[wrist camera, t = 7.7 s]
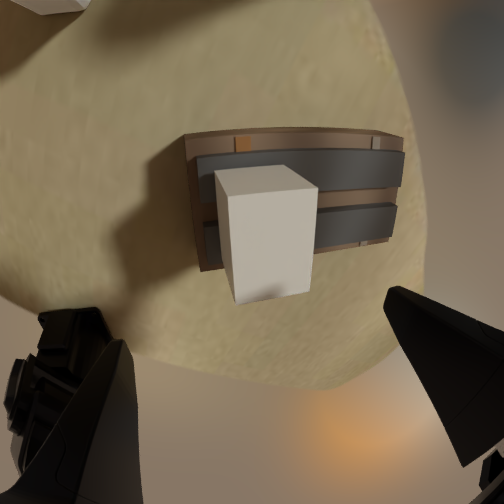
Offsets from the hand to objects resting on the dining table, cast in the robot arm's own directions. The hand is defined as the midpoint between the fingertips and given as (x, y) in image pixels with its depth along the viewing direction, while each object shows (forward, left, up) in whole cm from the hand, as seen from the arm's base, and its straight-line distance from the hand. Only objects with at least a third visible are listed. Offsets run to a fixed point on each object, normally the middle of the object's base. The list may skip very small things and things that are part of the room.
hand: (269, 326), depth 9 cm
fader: (+1, -1, -9) cm, 9 cm away
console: (+1, -5, -12) cm, 13 cm away
